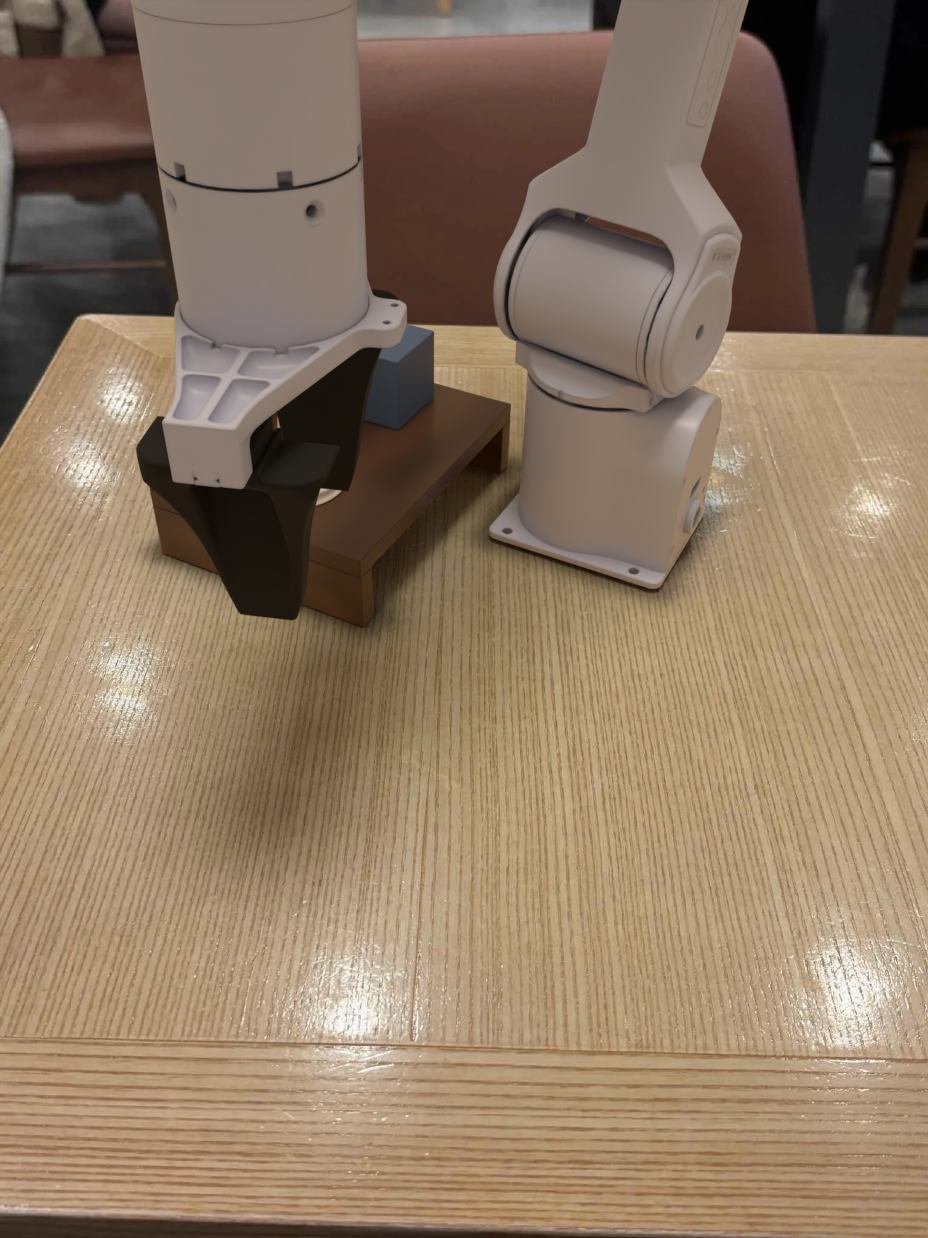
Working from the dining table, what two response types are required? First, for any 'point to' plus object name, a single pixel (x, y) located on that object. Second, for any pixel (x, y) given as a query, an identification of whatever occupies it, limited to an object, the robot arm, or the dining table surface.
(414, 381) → the blue box
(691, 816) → the dining table surface
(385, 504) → the shelf
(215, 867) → the dining table surface
